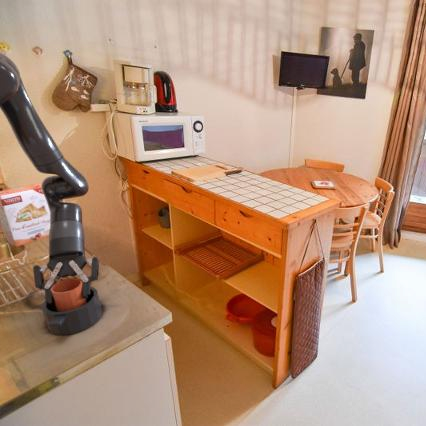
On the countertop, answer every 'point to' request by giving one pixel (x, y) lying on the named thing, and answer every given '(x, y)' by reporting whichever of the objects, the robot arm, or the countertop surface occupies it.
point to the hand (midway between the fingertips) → (68, 300)
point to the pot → (73, 316)
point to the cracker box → (24, 214)
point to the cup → (68, 295)
